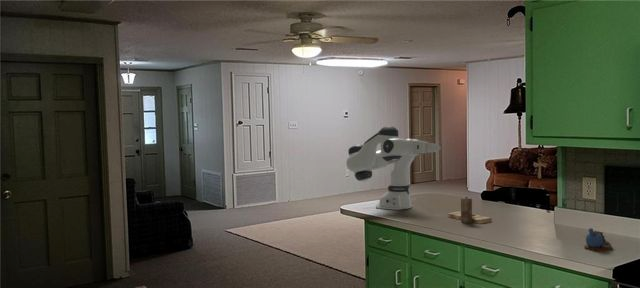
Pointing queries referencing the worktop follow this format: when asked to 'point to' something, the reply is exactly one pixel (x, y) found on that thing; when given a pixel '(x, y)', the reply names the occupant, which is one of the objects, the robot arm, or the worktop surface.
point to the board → (475, 219)
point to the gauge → (466, 210)
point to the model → (597, 241)
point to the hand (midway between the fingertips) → (434, 148)
